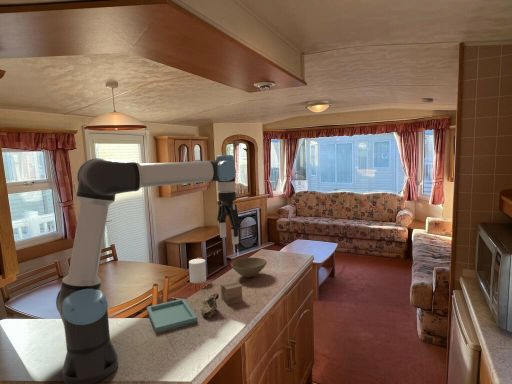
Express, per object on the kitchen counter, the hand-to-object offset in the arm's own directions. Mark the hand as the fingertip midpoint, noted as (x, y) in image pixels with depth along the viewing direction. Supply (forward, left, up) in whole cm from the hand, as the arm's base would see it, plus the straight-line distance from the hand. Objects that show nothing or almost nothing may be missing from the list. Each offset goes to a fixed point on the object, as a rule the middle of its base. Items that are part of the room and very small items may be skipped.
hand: (229, 240), depth 144 cm
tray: (-2, +27, -27) cm, 38 cm away
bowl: (+21, -19, -27) cm, 39 cm away
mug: (+32, +6, -27) cm, 42 cm away
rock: (-6, +12, -27) cm, 31 cm away
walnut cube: (0, 0, -27) cm, 27 cm away
